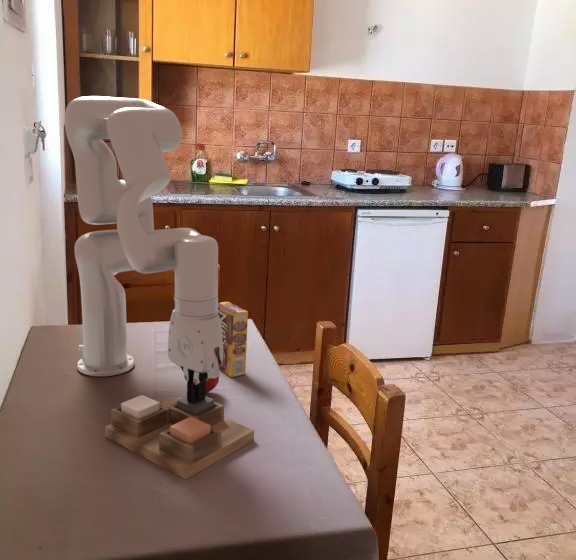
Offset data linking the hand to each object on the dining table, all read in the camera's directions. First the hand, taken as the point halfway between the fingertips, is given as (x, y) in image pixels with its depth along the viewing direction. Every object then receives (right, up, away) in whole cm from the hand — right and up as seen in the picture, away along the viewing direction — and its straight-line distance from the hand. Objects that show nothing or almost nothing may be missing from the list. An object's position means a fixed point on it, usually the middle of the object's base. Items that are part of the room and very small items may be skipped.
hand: (196, 400), depth 116 cm
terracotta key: (0, -5, -9) cm, 10 cm away
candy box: (+3, +1, +30) cm, 30 cm away
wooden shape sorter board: (-3, -7, -1) cm, 7 cm away
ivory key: (-10, -2, -1) cm, 10 cm away
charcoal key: (0, -2, +1) cm, 2 cm away
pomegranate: (-1, -2, +17) cm, 17 cm away
